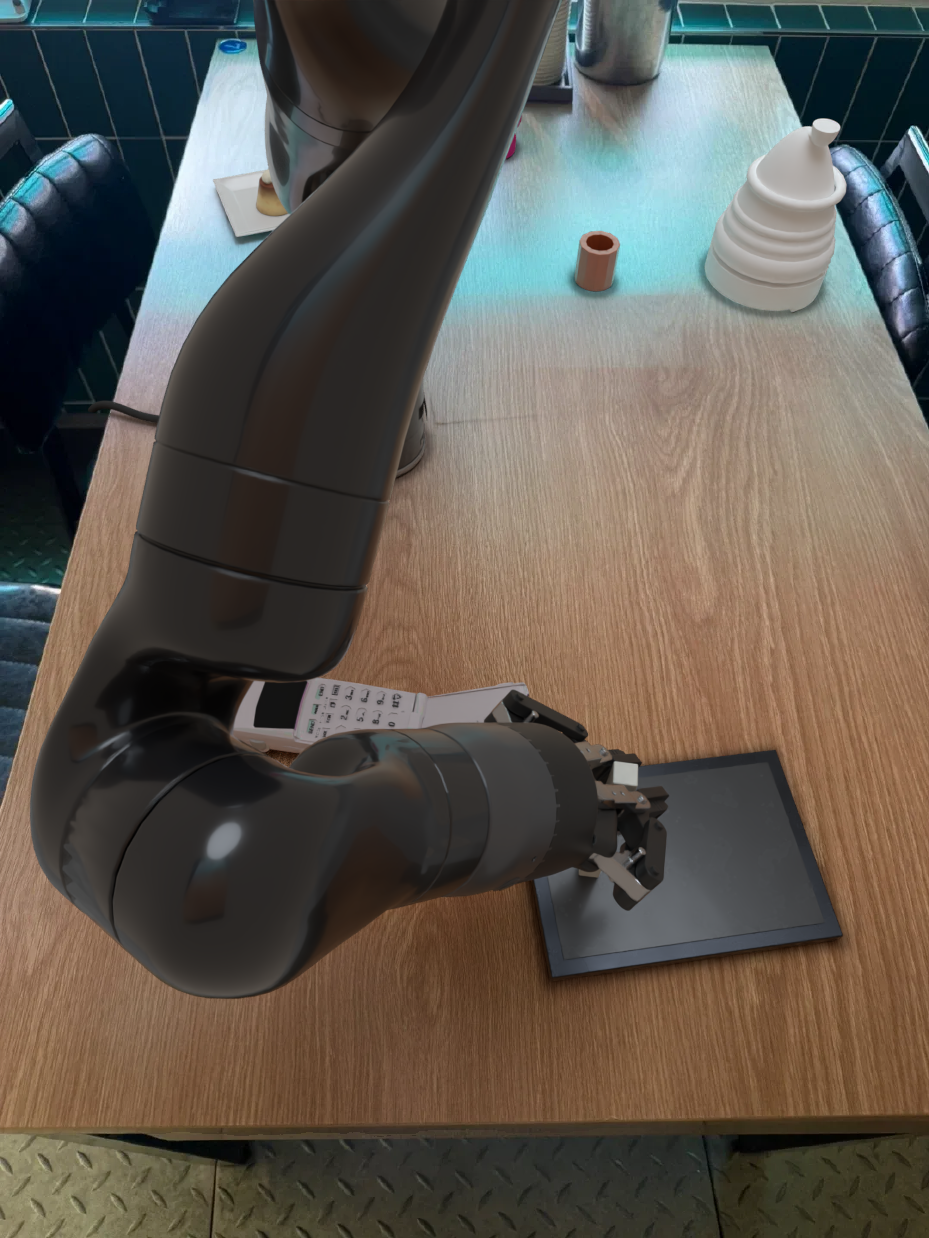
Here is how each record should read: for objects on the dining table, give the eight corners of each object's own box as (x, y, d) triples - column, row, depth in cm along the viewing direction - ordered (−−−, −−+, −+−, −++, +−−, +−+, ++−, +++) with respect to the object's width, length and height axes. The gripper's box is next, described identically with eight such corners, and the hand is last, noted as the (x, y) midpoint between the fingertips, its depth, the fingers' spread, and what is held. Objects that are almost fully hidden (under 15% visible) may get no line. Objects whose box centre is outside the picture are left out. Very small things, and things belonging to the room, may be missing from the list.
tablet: (550, 981, 62) (551, 977, 61) (513, 786, 70) (514, 780, 69) (838, 940, 64) (844, 935, 63) (772, 754, 72) (776, 748, 71)
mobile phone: (523, 754, 65) (168, 704, 66) (516, 791, 70) (185, 744, 71) (531, 680, 68) (194, 634, 70) (524, 720, 73) (209, 677, 74)
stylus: (579, 856, 66) (613, 760, 54) (599, 858, 66) (638, 763, 54) (578, 875, 65) (612, 782, 53) (598, 878, 65) (637, 786, 53)
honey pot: (842, 299, 104) (911, 138, 89) (741, 325, 101) (795, 162, 86) (779, 233, 110) (833, 73, 96) (682, 255, 107) (722, 93, 93)
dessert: (311, 170, 115) (307, 131, 111) (340, 225, 109) (337, 186, 105) (214, 188, 112) (206, 149, 108) (238, 245, 106) (230, 206, 102)
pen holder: (578, 296, 103) (584, 255, 99) (570, 272, 105) (576, 232, 101) (616, 293, 103) (623, 253, 99) (607, 270, 106) (614, 229, 101)
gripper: (631, 879, 39) (765, 837, 53) (449, 640, 45) (612, 660, 59) (516, 984, 41) (673, 918, 55) (359, 744, 48) (536, 740, 62)
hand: (641, 784), depth 57 cm, fingers closed on stylus
